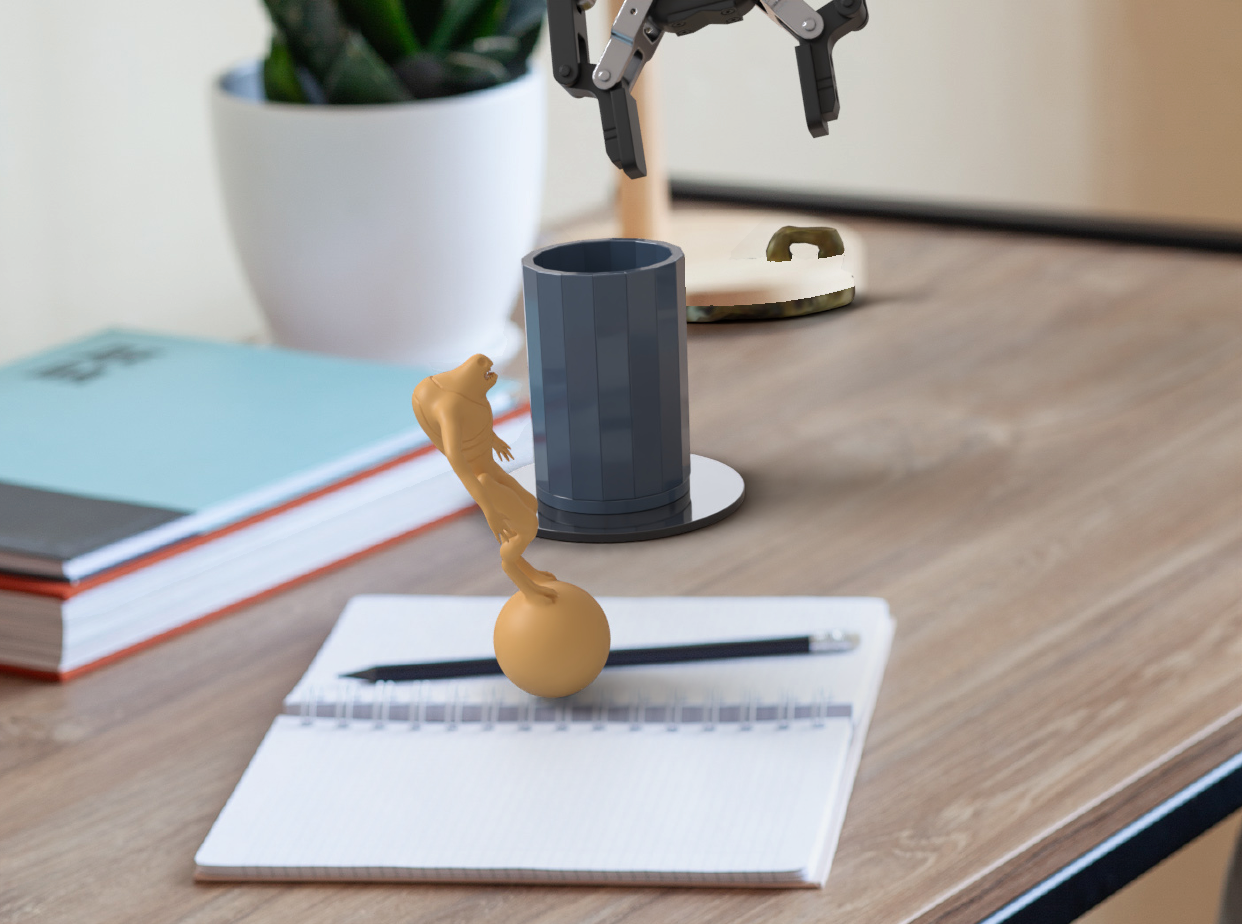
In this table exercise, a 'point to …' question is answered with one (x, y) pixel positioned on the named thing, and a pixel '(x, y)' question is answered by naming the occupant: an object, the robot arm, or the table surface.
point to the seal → (779, 252)
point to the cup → (608, 374)
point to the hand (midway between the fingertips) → (726, 154)
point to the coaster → (702, 505)
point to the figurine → (513, 542)
